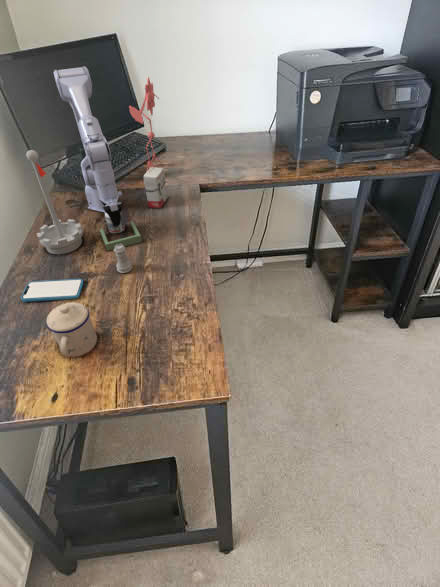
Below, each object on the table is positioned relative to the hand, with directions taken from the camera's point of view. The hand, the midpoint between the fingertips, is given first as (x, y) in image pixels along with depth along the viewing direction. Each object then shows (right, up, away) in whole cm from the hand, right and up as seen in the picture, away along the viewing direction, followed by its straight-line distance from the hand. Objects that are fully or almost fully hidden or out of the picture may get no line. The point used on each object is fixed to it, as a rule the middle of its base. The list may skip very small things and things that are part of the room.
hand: (115, 220), depth 125 cm
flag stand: (-15, -8, -3) cm, 18 cm away
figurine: (+11, +28, +36) cm, 47 cm away
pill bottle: (0, -3, +2) cm, 3 cm away
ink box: (+12, +10, +16) cm, 22 cm away
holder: (+2, -6, -1) cm, 6 cm away
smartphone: (-11, -23, -21) cm, 33 cm away
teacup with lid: (+1, -36, -36) cm, 51 cm away
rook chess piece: (+7, -17, -14) cm, 23 cm away
